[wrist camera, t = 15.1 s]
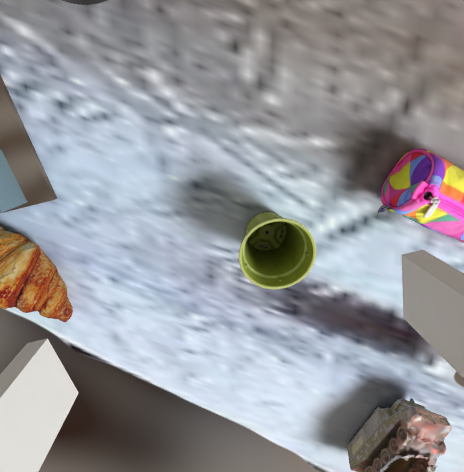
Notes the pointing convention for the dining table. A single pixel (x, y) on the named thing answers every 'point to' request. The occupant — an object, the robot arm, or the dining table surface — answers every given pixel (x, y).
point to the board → (22, 154)
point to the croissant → (30, 279)
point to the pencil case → (427, 192)
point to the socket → (9, 187)
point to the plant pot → (276, 251)
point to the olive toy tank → (399, 440)
